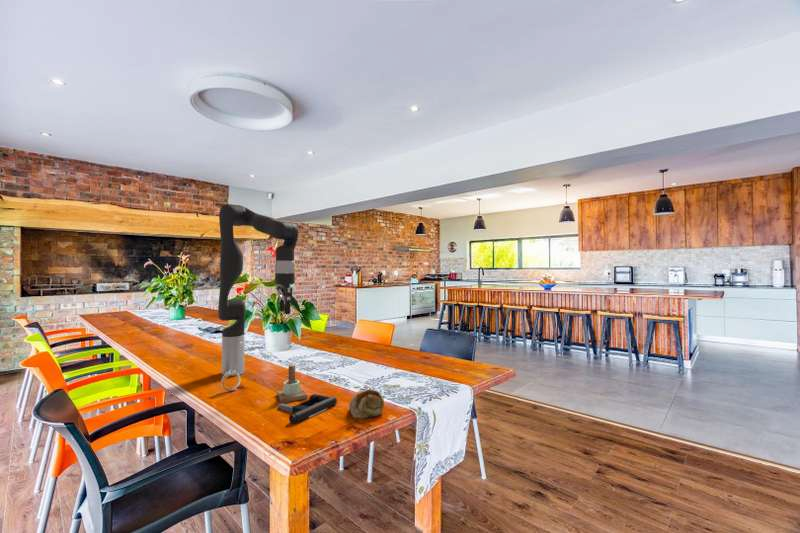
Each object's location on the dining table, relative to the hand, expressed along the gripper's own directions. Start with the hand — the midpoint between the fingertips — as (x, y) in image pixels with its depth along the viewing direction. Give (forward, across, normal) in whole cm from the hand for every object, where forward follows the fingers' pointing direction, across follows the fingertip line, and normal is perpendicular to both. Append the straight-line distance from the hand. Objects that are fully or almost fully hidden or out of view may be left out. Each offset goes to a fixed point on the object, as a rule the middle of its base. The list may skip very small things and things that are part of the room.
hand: (284, 312), depth 146 cm
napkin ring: (+28, +12, 0) cm, 31 cm away
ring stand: (+30, +12, 0) cm, 32 cm away
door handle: (+30, +26, +1) cm, 40 cm away
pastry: (+30, +37, +19) cm, 52 cm away
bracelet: (+30, -6, -19) cm, 36 cm away
